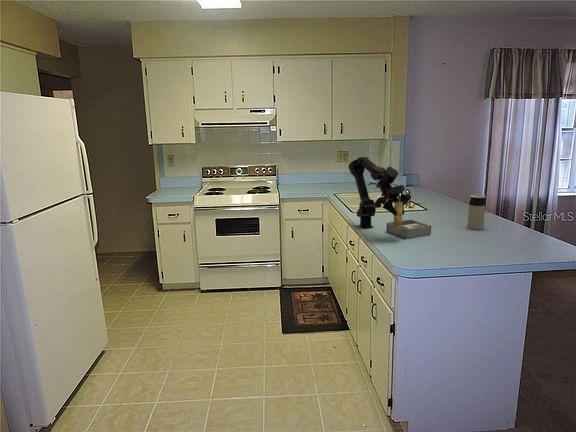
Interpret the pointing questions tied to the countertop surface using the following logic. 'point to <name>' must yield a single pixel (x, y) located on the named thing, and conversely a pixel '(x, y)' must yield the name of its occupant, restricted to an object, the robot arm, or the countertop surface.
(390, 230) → the bore box
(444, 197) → the countertop surface
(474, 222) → the travel mug
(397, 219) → the peg
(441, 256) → the countertop surface
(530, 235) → the countertop surface
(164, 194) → the countertop surface
